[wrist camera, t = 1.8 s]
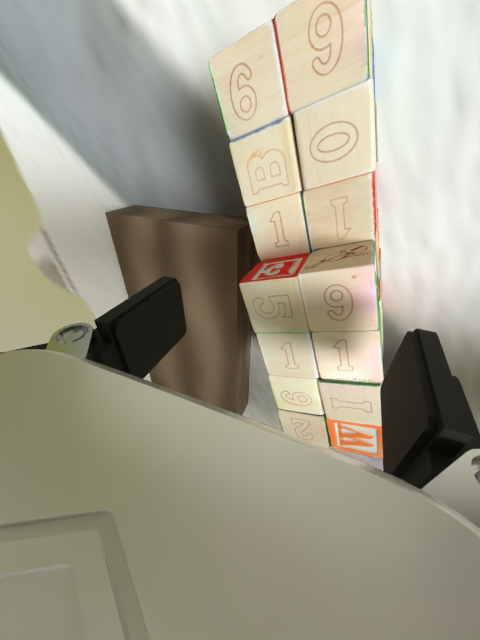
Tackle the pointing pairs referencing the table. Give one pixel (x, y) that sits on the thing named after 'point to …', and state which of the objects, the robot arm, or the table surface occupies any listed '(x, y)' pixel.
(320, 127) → the stack of blocks
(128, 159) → the table surface
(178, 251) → the plinth
